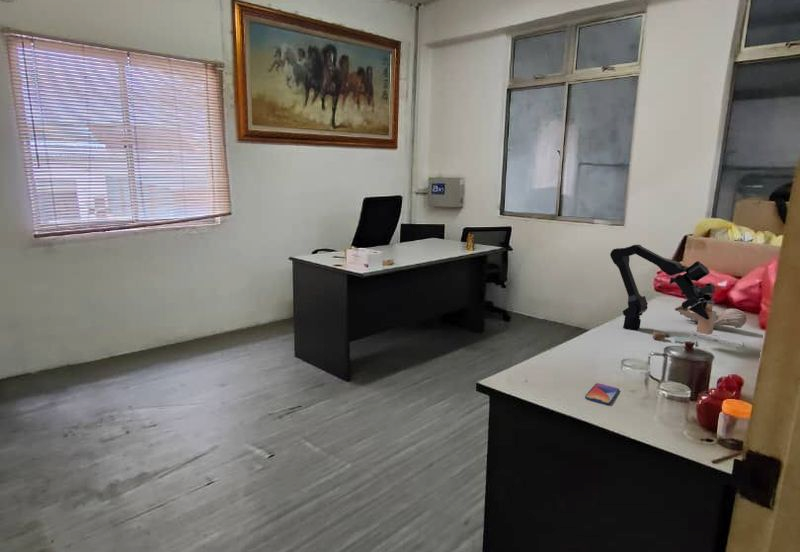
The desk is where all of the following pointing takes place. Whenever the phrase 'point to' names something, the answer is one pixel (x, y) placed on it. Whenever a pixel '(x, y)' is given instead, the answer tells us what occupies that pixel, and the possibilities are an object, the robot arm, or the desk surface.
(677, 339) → the mat
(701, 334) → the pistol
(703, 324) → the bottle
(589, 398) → the smartphone
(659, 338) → the walnut block
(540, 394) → the desk surface
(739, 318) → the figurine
